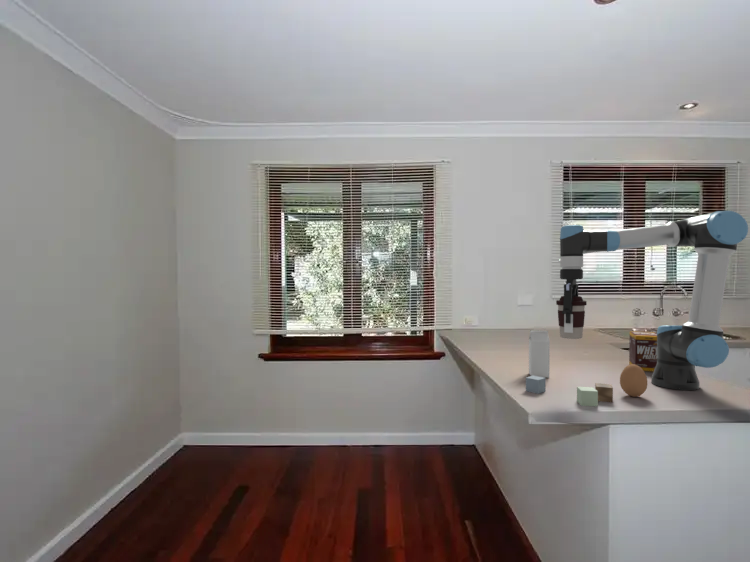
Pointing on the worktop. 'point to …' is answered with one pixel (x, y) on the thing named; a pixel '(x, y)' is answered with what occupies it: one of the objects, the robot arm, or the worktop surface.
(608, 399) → the walnut cube
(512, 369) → the worktop surface
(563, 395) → the worktop surface
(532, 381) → the slate painted cube
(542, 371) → the milk carton
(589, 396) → the sage painted cube
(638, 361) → the supplement box
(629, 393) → the egg
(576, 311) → the coffee cup
